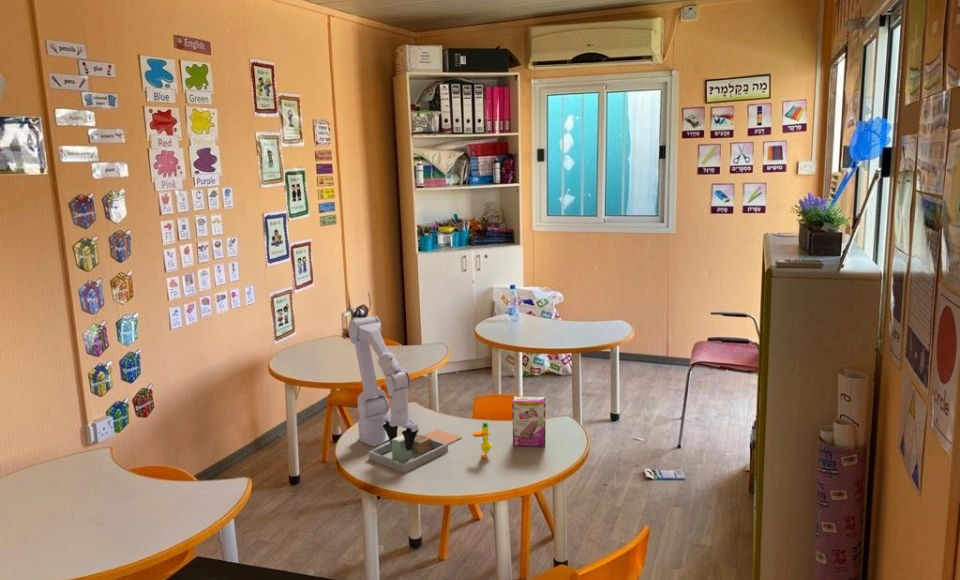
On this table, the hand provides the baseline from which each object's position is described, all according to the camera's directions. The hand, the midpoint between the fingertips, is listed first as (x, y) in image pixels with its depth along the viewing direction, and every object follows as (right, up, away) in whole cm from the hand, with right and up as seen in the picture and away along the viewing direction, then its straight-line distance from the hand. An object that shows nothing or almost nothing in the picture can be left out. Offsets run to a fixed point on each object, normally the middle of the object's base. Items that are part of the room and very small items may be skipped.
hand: (401, 446), depth 228 cm
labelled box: (0, -4, +1) cm, 4 cm away
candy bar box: (+43, -1, +8) cm, 44 cm away
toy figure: (+27, -4, 0) cm, 27 cm away
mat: (+12, -1, +15) cm, 19 cm away
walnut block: (+6, -3, +7) cm, 10 cm away
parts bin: (+2, -3, +3) cm, 5 cm away
